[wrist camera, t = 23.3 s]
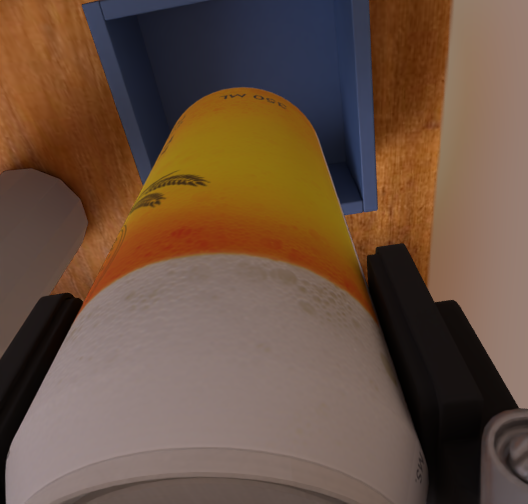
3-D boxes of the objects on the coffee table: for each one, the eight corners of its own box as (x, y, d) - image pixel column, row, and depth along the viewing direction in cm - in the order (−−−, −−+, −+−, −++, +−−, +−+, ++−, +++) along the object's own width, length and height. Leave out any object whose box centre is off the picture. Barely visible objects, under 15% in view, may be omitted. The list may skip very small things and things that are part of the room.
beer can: (149, 97, 17) (-162, 486, 4) (311, 68, 17) (476, 411, 4) (190, 236, 20) (78, 689, 8) (327, 214, 20) (448, 662, 7)
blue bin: (342, -50, 25) (367, -53, 19) (357, 166, 31) (378, 210, 26) (119, -5, 26) (81, 4, 20) (179, 195, 33) (162, 244, 27)
